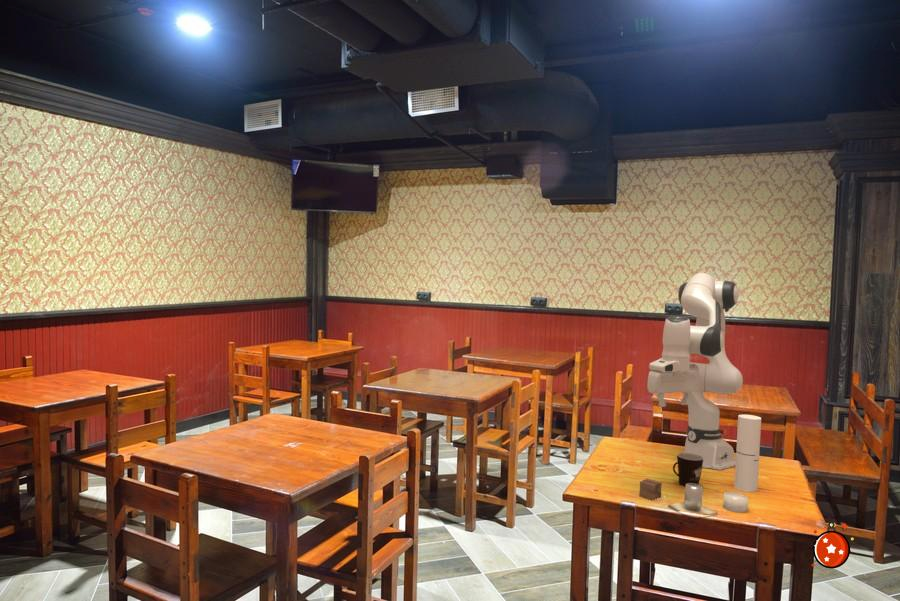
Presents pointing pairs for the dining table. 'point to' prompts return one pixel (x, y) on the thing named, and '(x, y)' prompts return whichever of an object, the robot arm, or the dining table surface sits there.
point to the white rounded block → (735, 502)
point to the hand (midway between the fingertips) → (673, 405)
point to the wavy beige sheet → (681, 508)
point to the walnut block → (650, 489)
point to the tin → (693, 497)
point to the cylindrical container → (747, 453)
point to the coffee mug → (688, 468)
